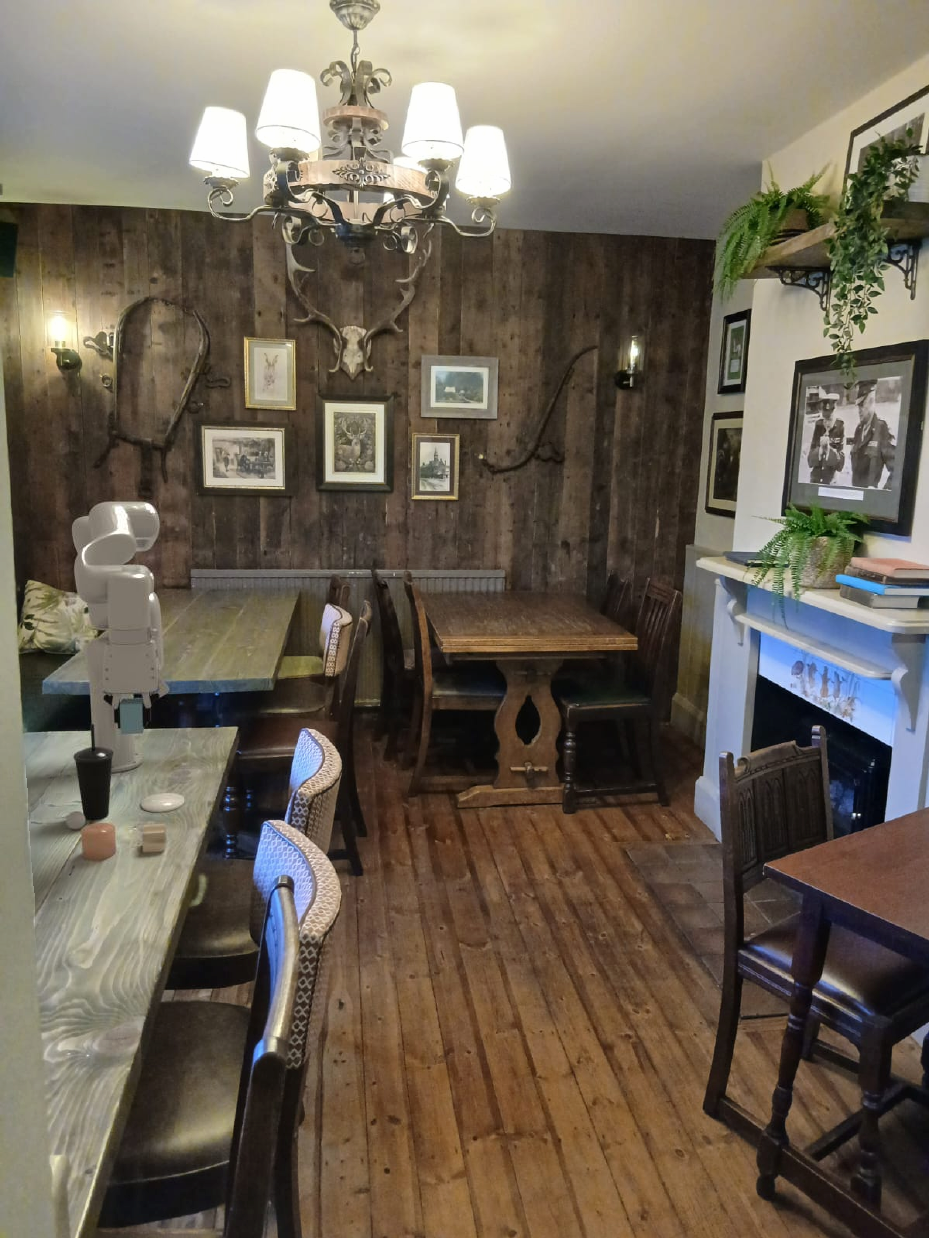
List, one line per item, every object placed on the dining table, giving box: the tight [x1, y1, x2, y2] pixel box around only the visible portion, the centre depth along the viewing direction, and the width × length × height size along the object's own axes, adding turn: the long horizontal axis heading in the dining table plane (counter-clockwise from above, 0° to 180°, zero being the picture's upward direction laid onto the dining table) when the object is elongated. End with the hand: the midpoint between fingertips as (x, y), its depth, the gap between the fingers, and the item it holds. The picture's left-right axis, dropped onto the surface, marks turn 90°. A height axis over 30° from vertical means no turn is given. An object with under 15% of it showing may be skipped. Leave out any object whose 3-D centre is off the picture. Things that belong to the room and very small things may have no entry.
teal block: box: [120, 697, 145, 735], centre depth 172 cm, size 4×4×6 cm
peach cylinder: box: [80, 822, 117, 862], centre depth 168 cm, size 6×6×5 cm
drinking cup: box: [72, 723, 114, 821], centre depth 182 cm, size 8×8×20 cm
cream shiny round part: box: [140, 792, 185, 813], centre depth 191 cm, size 9×9×1 cm
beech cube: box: [141, 823, 167, 853], centre depth 171 cm, size 4×4×4 cm
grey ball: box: [65, 810, 86, 830], centre depth 178 cm, size 4×4×4 cm
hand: (132, 724), depth 173 cm, fingers closed on teal block, 4 cm apart
